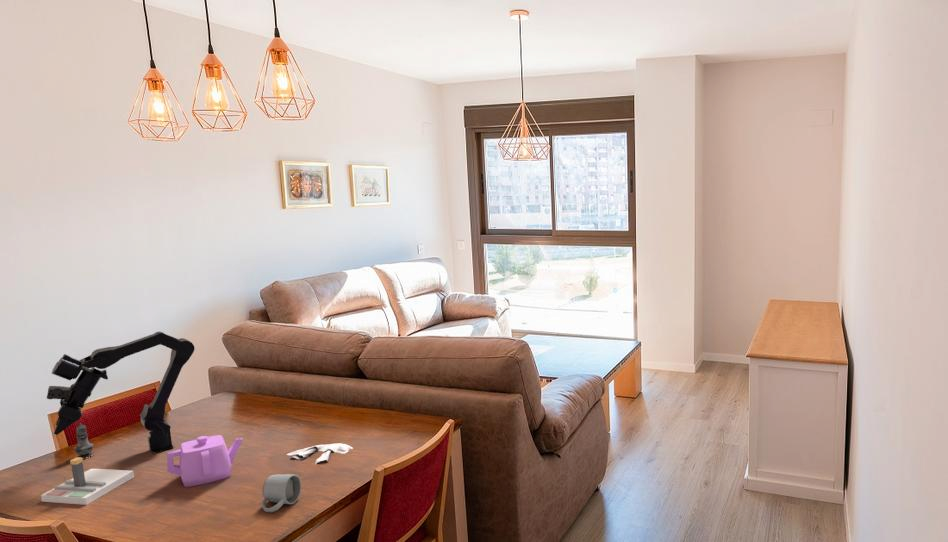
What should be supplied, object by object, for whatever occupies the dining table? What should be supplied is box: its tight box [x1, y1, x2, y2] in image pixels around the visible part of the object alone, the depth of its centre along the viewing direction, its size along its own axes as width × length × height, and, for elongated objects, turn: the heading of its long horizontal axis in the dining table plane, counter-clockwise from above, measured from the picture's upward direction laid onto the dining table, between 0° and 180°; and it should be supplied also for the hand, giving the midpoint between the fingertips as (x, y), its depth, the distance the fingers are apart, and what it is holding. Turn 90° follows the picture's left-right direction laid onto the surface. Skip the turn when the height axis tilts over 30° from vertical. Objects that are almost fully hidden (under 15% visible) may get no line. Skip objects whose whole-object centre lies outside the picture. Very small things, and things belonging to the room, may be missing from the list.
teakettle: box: [166, 434, 243, 488], centre depth 198 cm, size 17×17×12 cm
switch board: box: [40, 468, 135, 506], centre depth 195 cm, size 18×16×3 cm
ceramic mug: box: [261, 473, 302, 513], centre depth 177 cm, size 11×8×8 cm
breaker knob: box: [69, 456, 86, 487], centre depth 191 cm, size 2×2×8 cm
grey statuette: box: [73, 422, 94, 458], centre depth 220 cm, size 6×6×12 cm
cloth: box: [286, 442, 354, 465], centre depth 209 cm, size 20×22×2 cm
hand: (56, 429), depth 206 cm, fingers open, 9 cm apart
